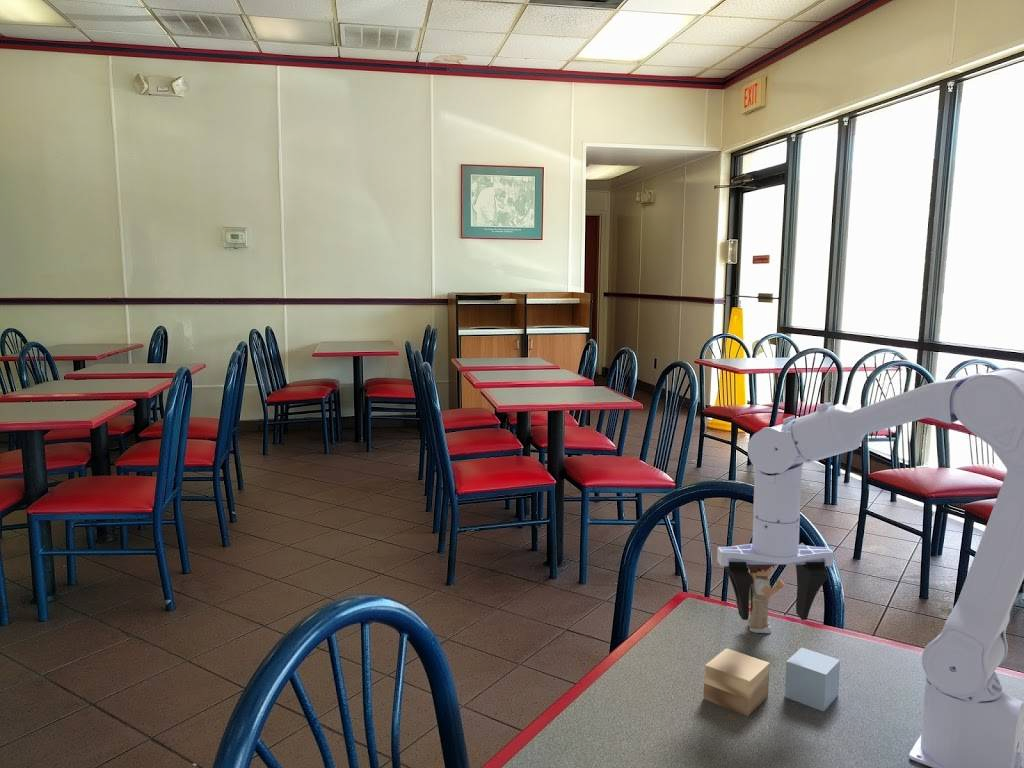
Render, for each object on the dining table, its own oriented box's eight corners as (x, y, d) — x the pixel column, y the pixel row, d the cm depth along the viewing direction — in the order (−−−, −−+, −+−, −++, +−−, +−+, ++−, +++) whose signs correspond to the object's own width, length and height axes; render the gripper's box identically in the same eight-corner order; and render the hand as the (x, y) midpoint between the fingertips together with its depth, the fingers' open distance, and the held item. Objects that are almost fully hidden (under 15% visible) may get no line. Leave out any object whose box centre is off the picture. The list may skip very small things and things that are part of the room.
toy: (782, 639, 112) (787, 544, 110) (745, 636, 113) (749, 542, 111) (776, 621, 118) (781, 531, 116) (740, 618, 119) (744, 529, 117)
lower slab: (767, 699, 96) (768, 681, 96) (747, 719, 92) (748, 700, 92) (724, 683, 100) (725, 665, 100) (703, 701, 96) (704, 683, 96)
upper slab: (769, 681, 96) (769, 662, 96) (749, 700, 92) (749, 681, 91) (725, 665, 100) (726, 648, 100) (704, 683, 96) (705, 665, 95)
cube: (837, 696, 97) (840, 659, 96) (823, 712, 93) (826, 674, 93) (799, 682, 100) (801, 647, 100) (784, 697, 96) (786, 661, 96)
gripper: (820, 507, 100) (815, 604, 102) (712, 508, 101) (709, 604, 102) (842, 524, 93) (837, 627, 95) (726, 524, 94) (723, 626, 95)
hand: (772, 616), depth 98 cm, fingers open, 7 cm apart
